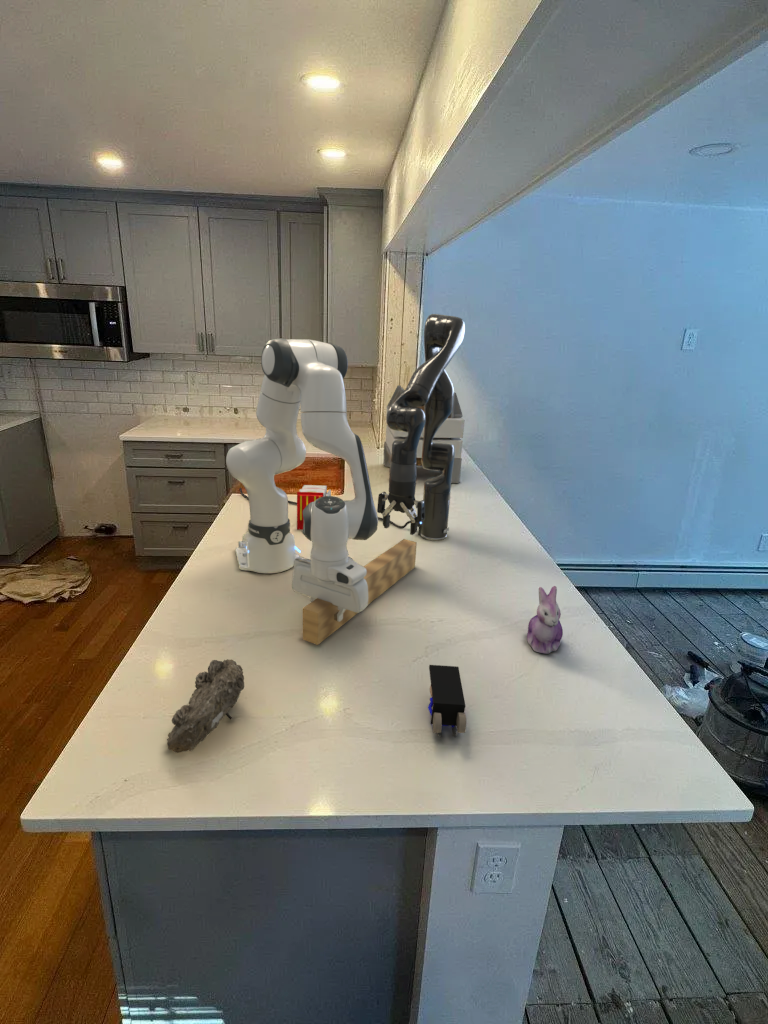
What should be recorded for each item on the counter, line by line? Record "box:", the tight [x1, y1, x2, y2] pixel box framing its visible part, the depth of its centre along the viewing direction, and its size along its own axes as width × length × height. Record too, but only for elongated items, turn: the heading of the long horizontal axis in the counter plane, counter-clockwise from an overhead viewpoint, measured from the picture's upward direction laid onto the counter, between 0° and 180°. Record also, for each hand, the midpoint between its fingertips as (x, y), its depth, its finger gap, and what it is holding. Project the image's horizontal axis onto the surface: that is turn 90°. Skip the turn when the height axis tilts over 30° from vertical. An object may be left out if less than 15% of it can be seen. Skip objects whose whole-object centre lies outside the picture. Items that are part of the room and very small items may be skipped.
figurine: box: [526, 585, 564, 655], centre depth 134 cm, size 9×10×15 cm
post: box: [302, 538, 418, 646], centre depth 153 cm, size 51×4×8 cm, turn 151°
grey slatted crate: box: [383, 384, 465, 484], centre depth 268 cm, size 34×33×41 cm
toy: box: [296, 484, 332, 531], centre depth 210 cm, size 12×13×30 cm
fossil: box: [166, 658, 245, 754], centre depth 106 cm, size 22×10×15 cm
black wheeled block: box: [427, 664, 467, 738], centre depth 109 cm, size 7×8×15 cm
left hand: (328, 616), depth 139 cm, fingers closed on post, 4 cm apart
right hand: (399, 530), depth 165 cm, fingers open, 8 cm apart
